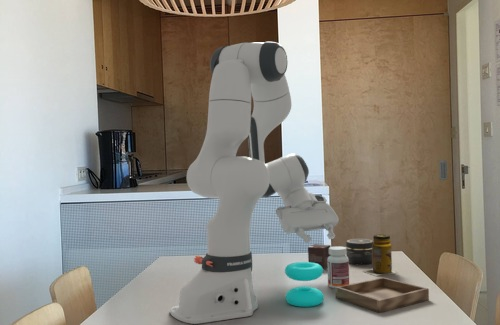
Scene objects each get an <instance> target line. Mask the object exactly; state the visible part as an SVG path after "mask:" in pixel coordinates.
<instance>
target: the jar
mask: <svg viewBox="0 0 500 325" xmlns="http://www.w3.org/2000/svg"><path fill="white" fill-rule="evenodd" d="M372 244H373V239H369V238H351V239H348V240H346V242H345V247H346V251H347V254H346V255H345V256H347V257H348V259H349V264H350V263H352V264H351V265H355V264H358V265H357V266H366V265H367V264H368V265H373V260H372ZM368 265H367V266H368Z"/></svg>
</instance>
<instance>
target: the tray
mask: <svg viewBox="0 0 500 325" xmlns="http://www.w3.org/2000/svg"><path fill="white" fill-rule="evenodd" d="M429 294H430V291H429V288H427V287H423V286H419V285H415V284H411V283H407V282H403V281H400V280H395V279H392V278H387V277H379V278H374V279H368V280H364V281H359V282H355V283H349V285H344V286H339V287H336V288H335V299H337V300H340V301H343V302H346V303H349V304H352V305H355V306H358V307H361V308H364V309H366V310H370V311H373V312H376V313H379V314H380V313H381V314H382V313H385V312H388V311H392V310H397V309H401V308H403V307H408V306H411V305H416V304H419V303H423V302H426V301H427V302H429V300H430V296H429Z"/></svg>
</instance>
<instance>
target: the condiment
mask: <svg viewBox="0 0 500 325" xmlns="http://www.w3.org/2000/svg"><path fill="white" fill-rule="evenodd" d="M372 240H373V244H372V260H373V263H372V269H367V270H366V269H365V270H363V272H364V273H367V274H369V275H371V276H375V277H379V276H384V275H392V274H393V275H394V274H398V272H397V271H393V265H392V264H393V263H392V244H391V235H389V234H381V233H380V234H379V233H378V234H374V235H373V237H372Z"/></svg>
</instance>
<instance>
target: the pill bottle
mask: <svg viewBox="0 0 500 325" xmlns="http://www.w3.org/2000/svg"><path fill="white" fill-rule="evenodd" d="M329 254H330V255H331V256H329V257H328V259H327V263H328V268H327V285H328V287H330V288H331V289H336V287H339V286H344V285H349V284H350V263H349V259H348V257H347V256H346V254H347V251H346V246H331V247H329Z"/></svg>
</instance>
